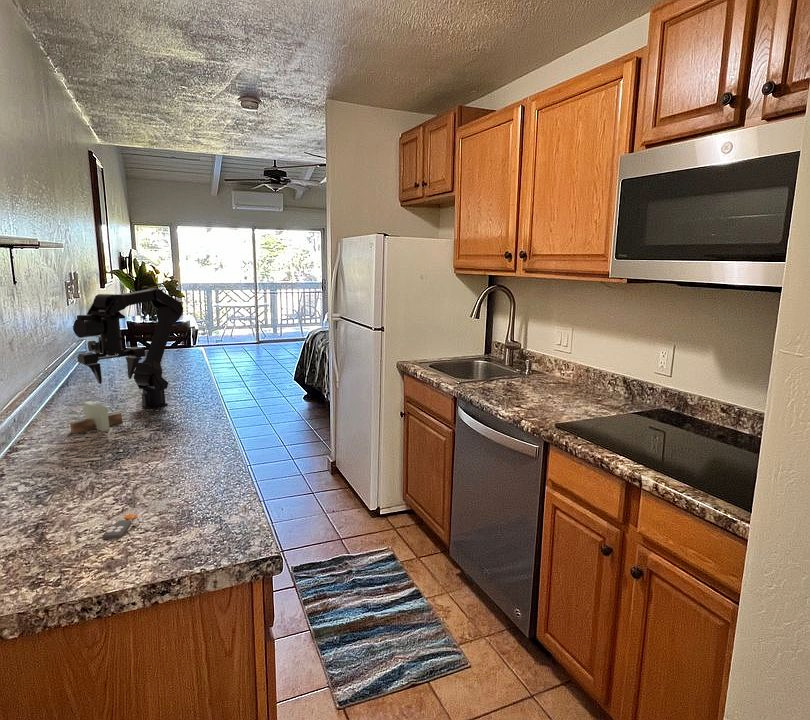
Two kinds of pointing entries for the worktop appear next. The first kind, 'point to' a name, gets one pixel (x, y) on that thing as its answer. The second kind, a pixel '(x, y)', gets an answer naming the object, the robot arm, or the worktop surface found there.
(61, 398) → the worktop surface
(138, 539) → the worktop surface
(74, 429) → the walnut rail
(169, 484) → the worktop surface
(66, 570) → the worktop surface
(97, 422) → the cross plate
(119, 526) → the key chain
